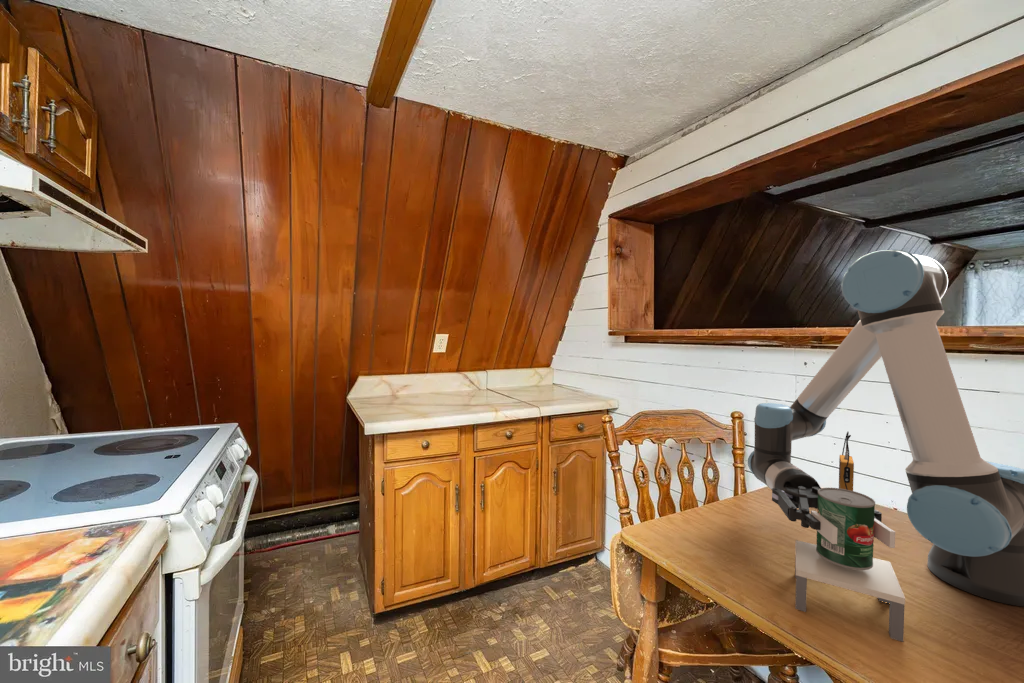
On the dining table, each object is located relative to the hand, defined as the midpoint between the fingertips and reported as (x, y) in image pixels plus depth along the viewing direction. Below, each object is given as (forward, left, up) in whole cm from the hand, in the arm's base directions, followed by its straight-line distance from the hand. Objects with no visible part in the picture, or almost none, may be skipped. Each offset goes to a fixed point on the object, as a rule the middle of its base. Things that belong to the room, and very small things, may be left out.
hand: (863, 537), depth 69 cm
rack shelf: (+2, -4, -14) cm, 15 cm away
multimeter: (+1, -55, -15) cm, 57 cm away
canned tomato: (+2, -4, -6) cm, 8 cm away
